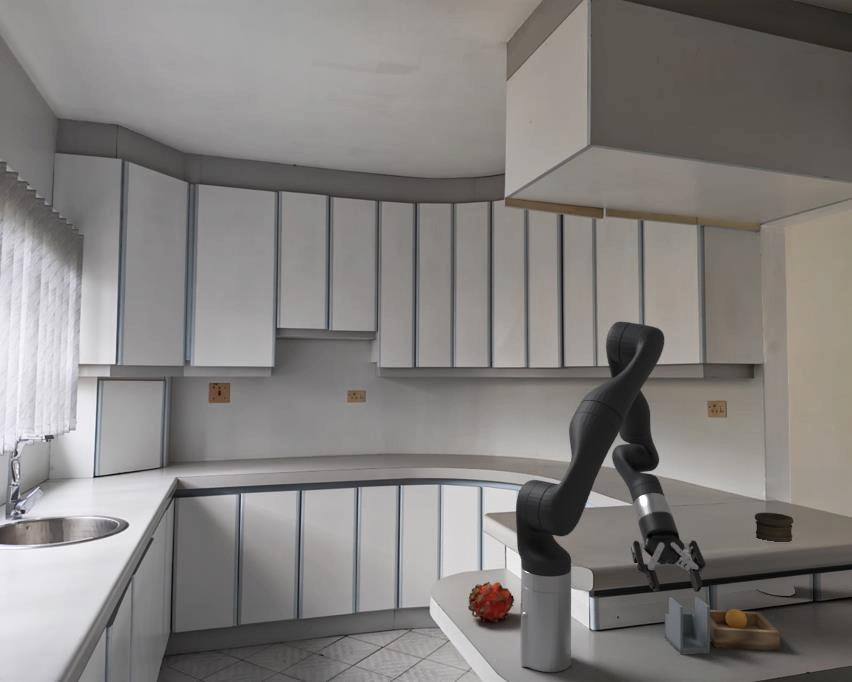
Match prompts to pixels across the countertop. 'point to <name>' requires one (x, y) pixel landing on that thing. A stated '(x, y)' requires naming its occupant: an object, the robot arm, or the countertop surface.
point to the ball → (736, 619)
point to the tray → (743, 632)
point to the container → (774, 527)
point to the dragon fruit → (490, 601)
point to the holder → (688, 627)
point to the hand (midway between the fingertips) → (677, 590)
